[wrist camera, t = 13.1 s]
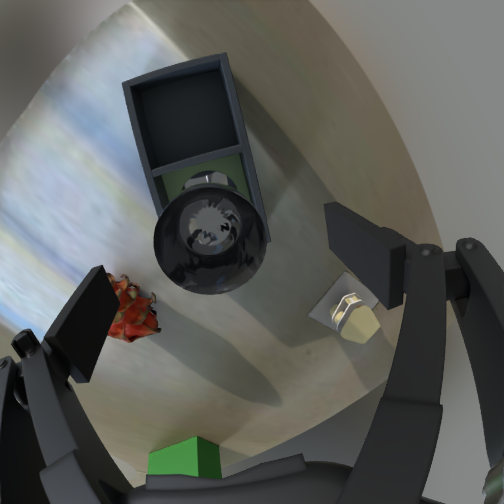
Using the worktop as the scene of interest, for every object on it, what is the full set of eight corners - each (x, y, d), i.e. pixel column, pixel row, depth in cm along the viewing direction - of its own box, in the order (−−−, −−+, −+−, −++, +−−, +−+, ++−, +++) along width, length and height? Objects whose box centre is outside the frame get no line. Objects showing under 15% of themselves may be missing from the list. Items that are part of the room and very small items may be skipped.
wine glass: (197, 154, 31) (186, 165, 17) (255, 187, 33) (288, 223, 20) (165, 213, 33) (135, 265, 19) (221, 242, 35) (231, 310, 22)
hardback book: (170, 463, 57) (171, 537, 35) (149, 453, 54) (146, 532, 32) (218, 446, 55) (229, 532, 33) (196, 435, 52) (202, 529, 30)
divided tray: (223, 64, 28) (226, 51, 23) (263, 228, 36) (271, 242, 32) (133, 90, 27) (121, 82, 22) (179, 250, 36) (175, 267, 31)
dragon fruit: (96, 259, 36) (162, 299, 42) (69, 310, 33) (138, 348, 39) (101, 257, 29) (183, 306, 35) (69, 321, 26) (155, 365, 32)
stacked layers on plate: (380, 298, 44) (397, 315, 39) (346, 336, 46) (359, 356, 41) (344, 270, 40) (361, 288, 35) (307, 315, 42) (318, 336, 37)
